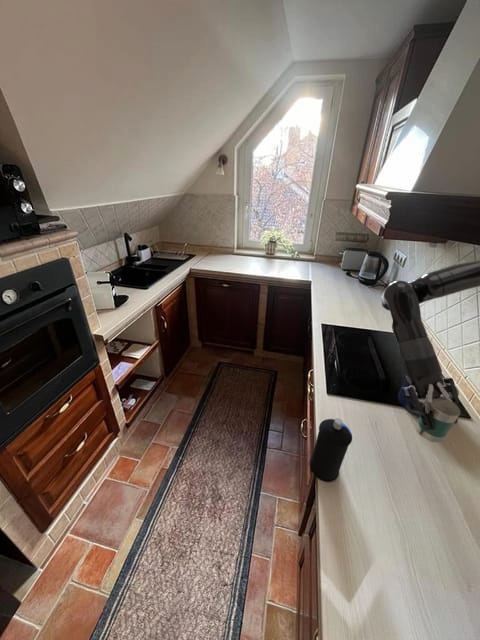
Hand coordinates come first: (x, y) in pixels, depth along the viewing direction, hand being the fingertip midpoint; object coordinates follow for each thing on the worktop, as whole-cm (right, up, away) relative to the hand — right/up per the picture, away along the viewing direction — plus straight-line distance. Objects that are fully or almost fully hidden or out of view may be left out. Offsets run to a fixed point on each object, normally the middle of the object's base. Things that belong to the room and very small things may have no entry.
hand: (442, 426), depth 60 cm
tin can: (-1, -3, +4) cm, 5 cm away
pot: (+19, -6, +34) cm, 40 cm away
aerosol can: (-24, -18, +13) cm, 32 cm away
